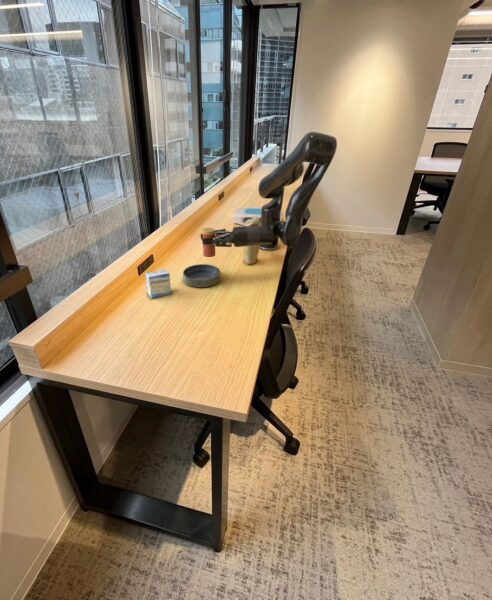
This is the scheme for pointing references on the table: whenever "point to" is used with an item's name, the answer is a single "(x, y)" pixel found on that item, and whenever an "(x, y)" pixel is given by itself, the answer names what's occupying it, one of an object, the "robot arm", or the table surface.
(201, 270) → the bowl
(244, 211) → the document scanner
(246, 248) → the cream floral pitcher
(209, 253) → the pill bottle
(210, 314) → the table surface
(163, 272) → the medicine box
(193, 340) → the table surface
